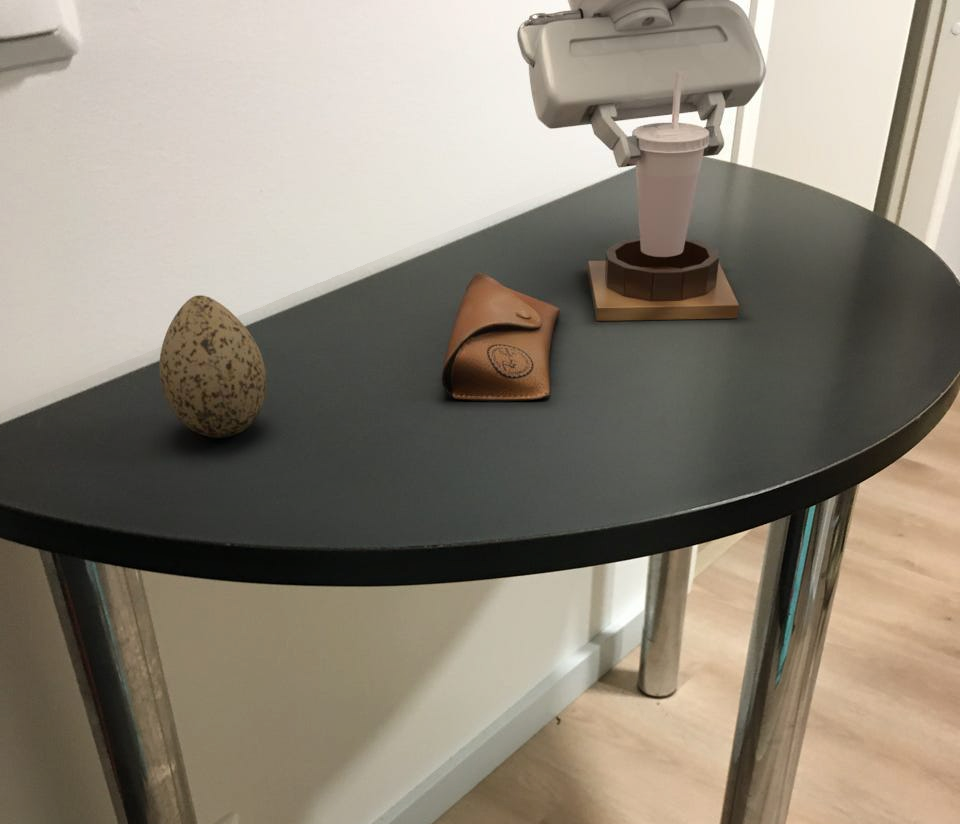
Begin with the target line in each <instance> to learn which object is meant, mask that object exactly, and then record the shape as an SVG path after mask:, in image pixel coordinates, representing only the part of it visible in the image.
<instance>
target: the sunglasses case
mask: <svg viewBox="0 0 960 824" xmlns="http://www.w3.org/2000/svg"><path fill="white" fill-rule="evenodd" d="M560 313H561V309H560V308H559V307H557V306H555V305H553V304H551V303H548V302H545V301H543V300H539V299H537V298H534V297H532V296H529V295H526V294H525V293H522V292H519V291H516V290H514V289H512V288H509V287H506V286H504V285H503V284H501V283H500V282H499V281H497V280H495V279H494V278H492V277H490V276H489V275H486V274H484V273H482V272H480V273H476V274H475V275H474V276H473V277H472V278H471V280H470V281H469V282H468V285H467V286H466V289H465V292H464V295H463V297H462V300H461V302H460V304H459V307H458V310H457V313H456V318H455V320H454V324H453V327H452V331H451V334H450V337H449V340H448V343H447V347H446V351H445V356H444V360H443V365H442V372H441V383H442V387H443V388H444V389H445V391H446V392H447V393H448V394H449V396H451V397H452V398H453V399H454V400H457V401H458V400H459V401H465V400H466V401H475V402H485V403H486V402H487V403H488V402H489V403H490V402H491V403H492V402H493V403H494V402H495V403H498V402H499V403H502V402H503V403H504V402H519V401H520V402H523V401H533V400H540V399H544V398H547V397H549V396H550V395H551V379H550V354H551V345H552V339H553V334H554V329H555V327H556V324H557V321H558V319H559V316H560Z"/></svg>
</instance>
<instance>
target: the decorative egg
mask: <svg viewBox="0 0 960 824" xmlns="http://www.w3.org/2000/svg"><path fill="white" fill-rule="evenodd" d="M164 335H165V336H164V338H163V342H162V345H161V350H160V355H159V369H158V371H159V378H160V384H161V389H162V392H163V395H164V397H165V401H166V403H167V405H168V407H169V408H170V410H171V411H172V413H173V414H174V416H176V418H177V419H178V420H179V422H180V423H182V424H183V425H184V426H186V427H187V428H188V429H189V430H191V431H193V432H194V433H197V434H199V435H200V436H201V435H202V436H204V437H208V438H214V439H224V438H230V437H233V436H235V435H238V434H241V433H242V432H244V431H245V430H246V429H248V428H249V427H250V426H251V425H252V424H253V423H254V421H255V420H256V419H257V418H258V416H259V415H260V413H261V410H262V408H263V406H264V402H265V398H266V393H267V382H268V381H267V372H266V371H267V370H266V367H265V363H264V359H263V355H262V352H261V350H260V349H259V346H258V344H257V342H256V341H255V339H254V337H253V336H252V334H251V333H250V331H249V330H248V329H247V327H246V325H244V324H243V323H242V322H241V321H240V319H239V318H238V317H237V316H236V315H235V314H234V313H233V312H231V310H230V309H228V308H227V307H225V305H223V304H222V303H220V302H219V301H217V300H215V299H213V298H211V297H210V296H207V295H198V294H197V295H194V296H192V297H190V298H189V299H187V300H186V302H184V303H183V305H182V306H180V308H179V310H178V311H177V312H176V314H175V315H174V317H173V318H172V320H171V322H170V324H169V326H168V328H167V330H166V333H165V334H164Z"/></svg>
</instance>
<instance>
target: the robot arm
mask: <svg viewBox="0 0 960 824" xmlns="http://www.w3.org/2000/svg"><path fill="white" fill-rule="evenodd" d="M567 3H568V6H569V9H570V10H562V11H557V12H552V13H545V12H538V13H534V14H531V15H529V17H528V19H527V20H525V21H523V22H522V23H520V25H519V27H518V29H517V32H516V37H517V43H518V44H517V45H518V47H519V50H520V54H521V56H522V57H521V58H522V59H523V60H524V61H525V62H526V64H527V65H528V76H529V77H528V78H529V85H530V91H531V98H532V102H533V108H534V110H535V115H536V117H537V119H538V121H540V123H542V124H543V125H544V126H545V127H547V128H548V129H550V130H552V129H553V130H554V129H561V128H568V127H569V128H570V127H578V126H585V125H586V126H587V125H591V128H592V132H593V134H594V135H595V137H597V139H599V140H600V141H601V143H603V144H604V145H605V146H606V147H607V148H608V149H609V150H610V151H612V153H613V156H614V160H615V163H616V166H617V167H618V168H627V167H633V166H635V167H636V164H637V161H638V160H639V159H640V157H641V151H640V148H639V147H638V146H637V145H638V141H637V137H636V136H632V135H627V134H626V133H625V131H624V130H623V129H622V128H621V127H620V126H619V125H618V123H616V122H621V121H628V120H638V119H645V118H653V117H661V116H663V117H664V116H670V115H671V116H672V111H673V97H674V84H675V72H676V71H682V83H681V96H680V109H679V115H680V114H688V113H697V114H698V117H699V120H700V121H701V122H702V121H706V123H705V126H704V127H703V128H705V129H707V130H708V131H709V141H708V142H709V145H708V146H707V147H706V148H705V149H704V152H703V157H711V156H717V155H719V154H720V152H721V151H722V150H723V149H724V146H725V139H724V136H723V132H722V129H721V127H720V126H721V125H722V121H723V117H724V112H725V109H728V108H729V109H731V108H739V107H743V106H746V105H747V104H749V103H750V101H751V100H752V99H753V98H754V97H755V95H756V94H757V92H758V90H759V89H760V88H761V86H762V85H763V82H764V80H765V77H766V73H767V67H766V62H765V59H764V56H763V55H764V54H763V52H762V49H761V46H760V44H759V40H758V38H757V35H756V33H755V31H754V28H753V26H752V23H751V21H750V19H749V17H748V15H747V13H746V12H745V10H744V9H743V8H742V7H741V6H740V5H739V4H738V3H736V2H735V1H733V0H567Z"/></svg>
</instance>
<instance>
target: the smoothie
mask: <svg viewBox="0 0 960 824" xmlns="http://www.w3.org/2000/svg"><path fill="white" fill-rule="evenodd" d="M681 83H682V71H676V72H675V84H674V97H673V111H672V114H671V122H654V123H648V124H644V125H640V126H637V127H636V128H634V129H633V130H632V131H631V136H636V137H637V141H638V145H637V146H638V147H639V148H640V151H641V157H640V159H639V160H638V161H637V164H636V165H635V174H636V175H635V176H636V192H637V208H638V209H637V210H638V226H639V227H638V228H639V237H640V246H641V252H643V253H644V254H646V255H650V256H655V257H670V256H676V255H679V254H681V253H682V252H683V249H684V245H685V240H686V239H687V235H688V229H689V225H690V220H691V215H692V211H693V206H694V202H695V196H696V190H697V185H698V181H699V176H700V172H701V168H702V163H703V157H704V156H703V152H704V149H705V148H706V147H707V146H708V145H709V142H708V141H709V131H708V130H707V129H705V128H704V127H703V126H701V125H698V124H692V123H686V122H685V123H684V122H679V121H680V114H679V109H680V96H681Z"/></svg>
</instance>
